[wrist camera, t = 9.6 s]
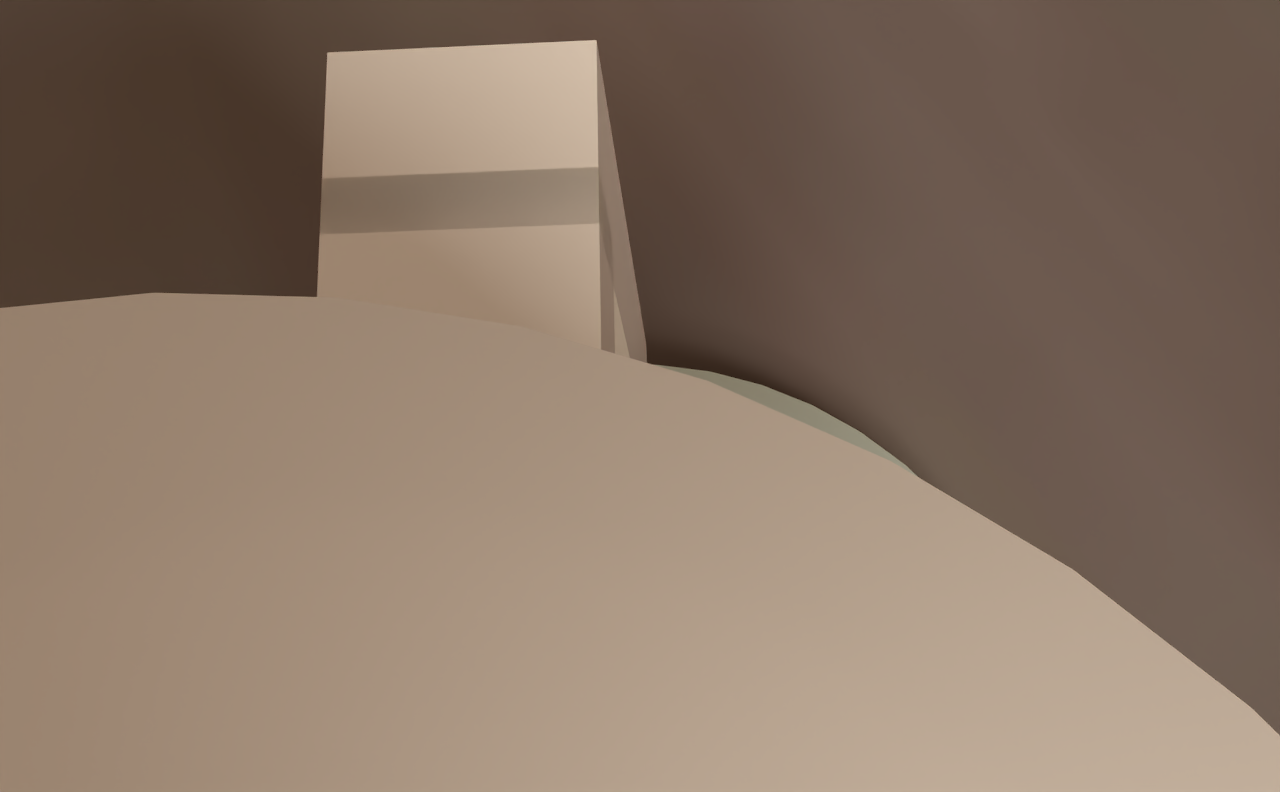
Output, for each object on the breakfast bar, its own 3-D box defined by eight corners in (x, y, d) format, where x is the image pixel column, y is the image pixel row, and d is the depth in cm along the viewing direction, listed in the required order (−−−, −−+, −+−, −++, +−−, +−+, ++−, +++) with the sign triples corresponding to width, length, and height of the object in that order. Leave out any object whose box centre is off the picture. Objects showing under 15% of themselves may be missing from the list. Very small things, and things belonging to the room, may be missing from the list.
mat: (1178, 594, 18) (1207, 593, 17) (833, 1432, 16) (842, 1487, 15) (466, 254, 19) (453, 234, 18) (70, 970, 17) (32, 991, 16)
